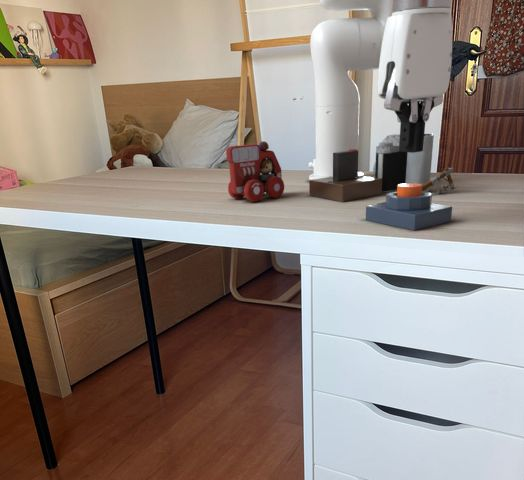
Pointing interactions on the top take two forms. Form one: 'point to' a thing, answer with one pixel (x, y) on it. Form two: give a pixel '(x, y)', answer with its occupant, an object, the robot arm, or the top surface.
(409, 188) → the button
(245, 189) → the toy fire truck
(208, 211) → the top surface
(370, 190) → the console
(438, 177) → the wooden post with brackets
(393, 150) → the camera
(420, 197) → the button box
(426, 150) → the grey hollow tube
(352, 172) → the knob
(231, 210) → the top surface
